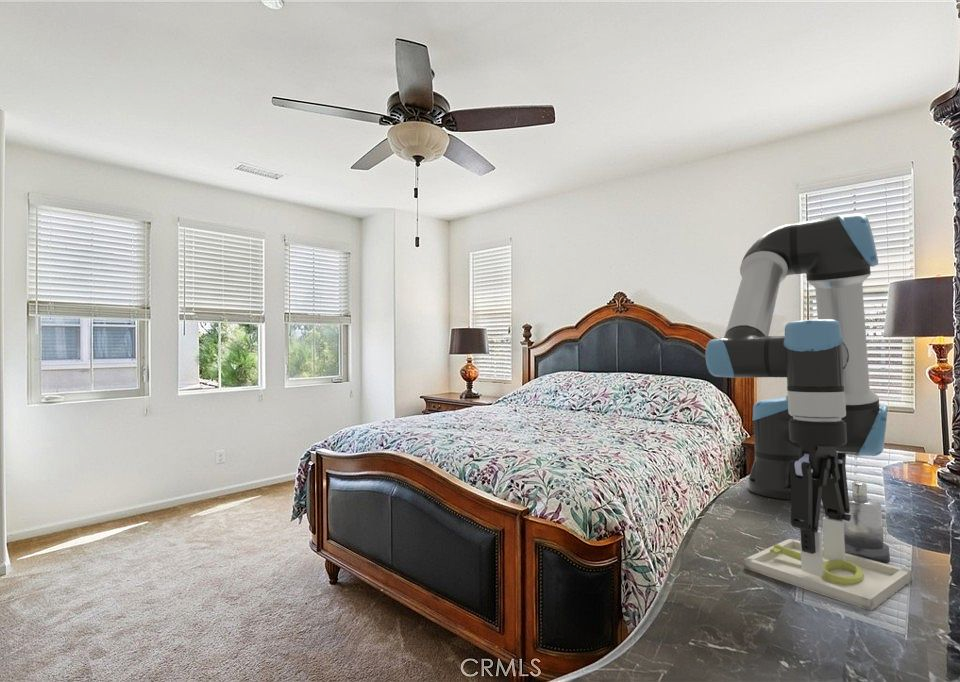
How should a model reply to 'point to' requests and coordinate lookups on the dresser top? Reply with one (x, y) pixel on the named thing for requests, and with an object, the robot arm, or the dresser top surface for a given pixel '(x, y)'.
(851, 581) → the key
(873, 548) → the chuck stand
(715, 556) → the dresser top surface
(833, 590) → the tray
